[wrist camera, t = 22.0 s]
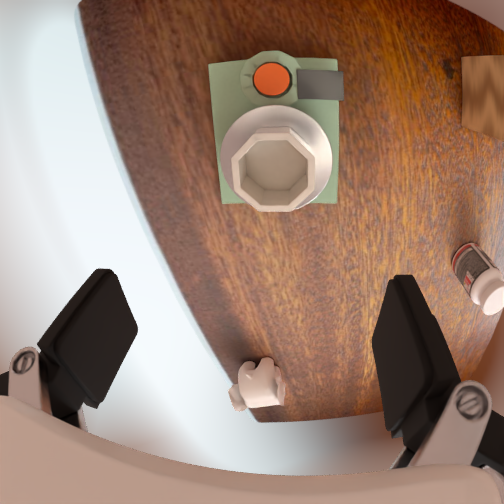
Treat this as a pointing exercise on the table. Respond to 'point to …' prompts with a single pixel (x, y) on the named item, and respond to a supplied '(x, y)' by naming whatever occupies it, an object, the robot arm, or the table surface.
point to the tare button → (271, 79)
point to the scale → (249, 97)
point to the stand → (483, 94)
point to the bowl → (274, 169)
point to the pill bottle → (479, 278)
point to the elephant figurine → (258, 386)
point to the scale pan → (290, 126)
